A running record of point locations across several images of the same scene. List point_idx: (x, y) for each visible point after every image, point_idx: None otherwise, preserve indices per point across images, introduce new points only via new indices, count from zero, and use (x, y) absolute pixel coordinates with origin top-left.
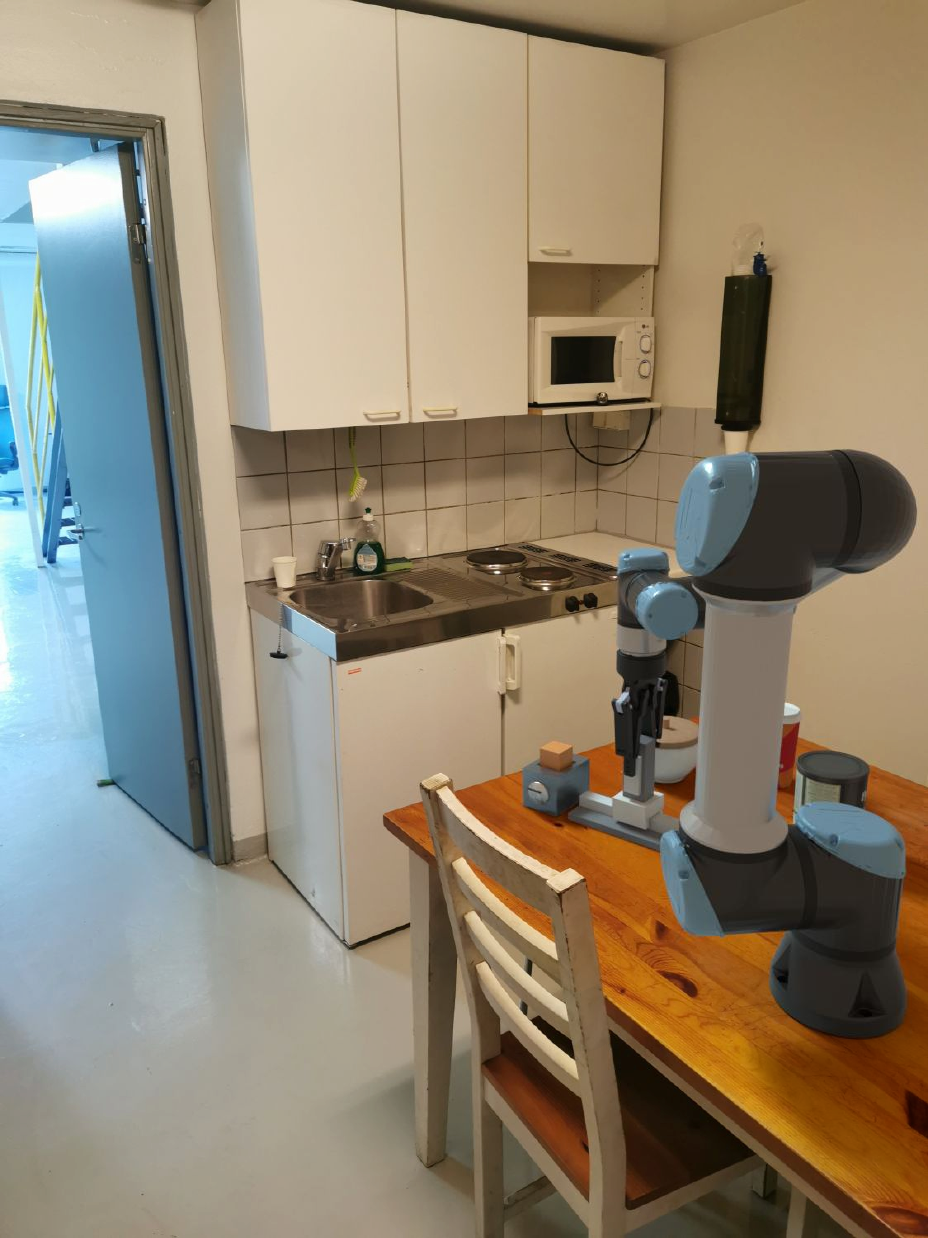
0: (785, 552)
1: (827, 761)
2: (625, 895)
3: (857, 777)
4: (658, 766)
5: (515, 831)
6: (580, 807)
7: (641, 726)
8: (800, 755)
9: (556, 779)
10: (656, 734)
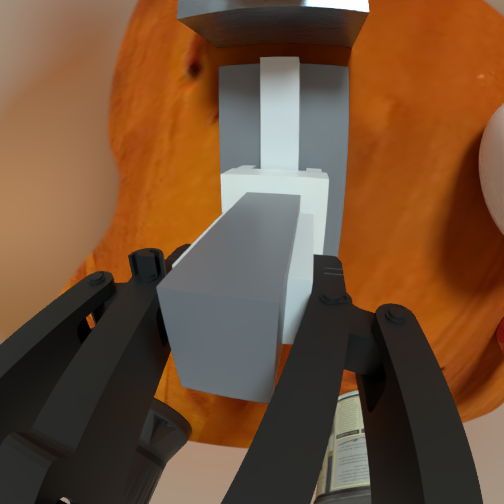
0: None
1: (369, 501)
2: (114, 273)
3: None
4: (486, 181)
5: (134, 39)
6: (258, 70)
7: (137, 442)
8: None
9: (178, 19)
10: (359, 375)
